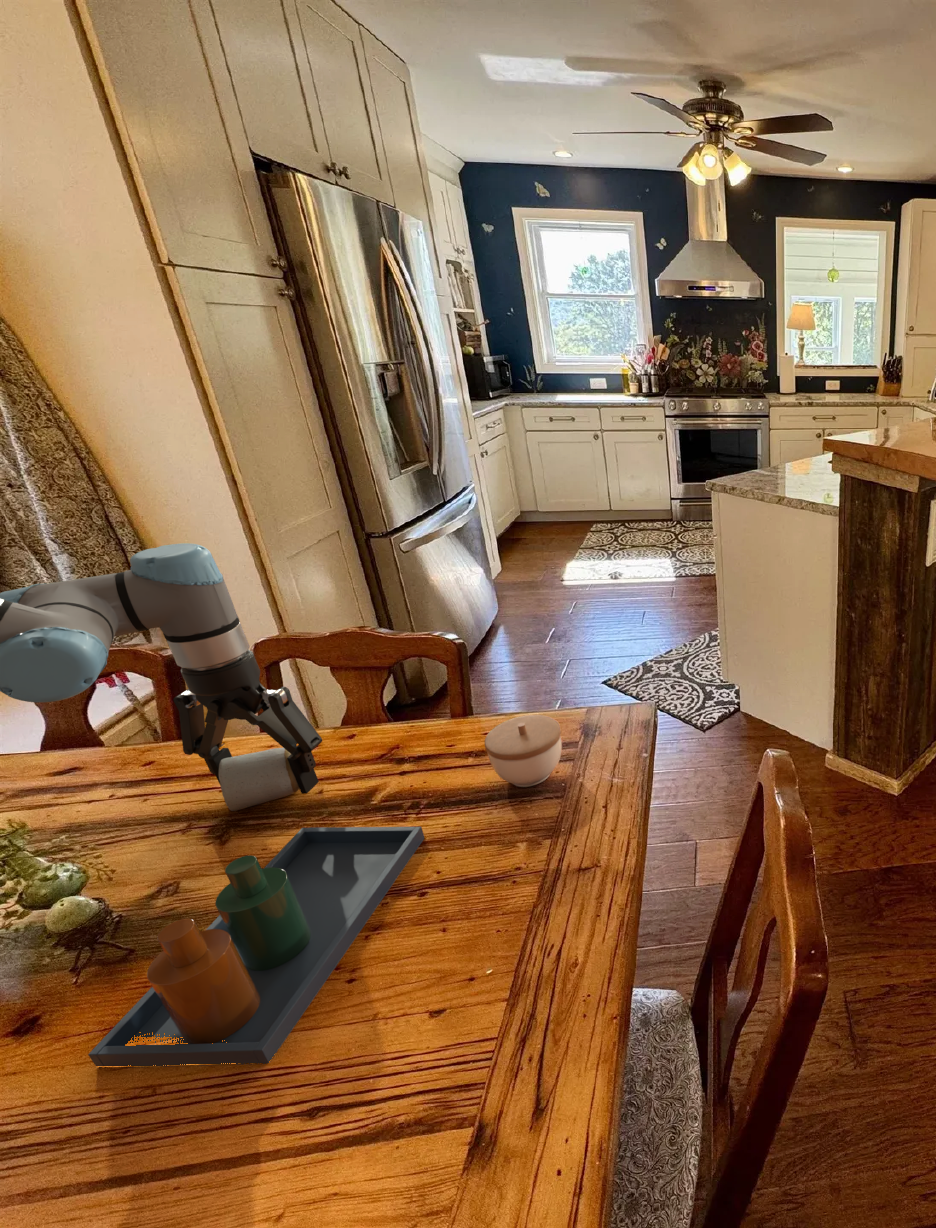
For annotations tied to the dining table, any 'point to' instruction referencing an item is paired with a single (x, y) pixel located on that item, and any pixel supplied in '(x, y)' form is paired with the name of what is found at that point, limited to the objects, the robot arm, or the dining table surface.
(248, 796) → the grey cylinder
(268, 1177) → the dining table surface
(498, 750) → the trinket box
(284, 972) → the tray
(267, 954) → the green bottle
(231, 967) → the amber bottle
